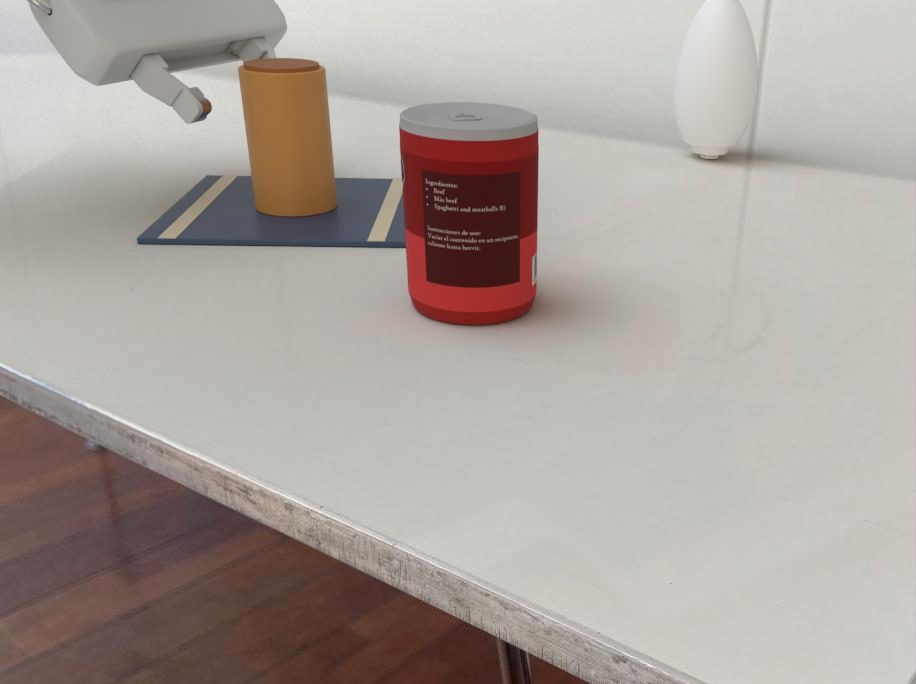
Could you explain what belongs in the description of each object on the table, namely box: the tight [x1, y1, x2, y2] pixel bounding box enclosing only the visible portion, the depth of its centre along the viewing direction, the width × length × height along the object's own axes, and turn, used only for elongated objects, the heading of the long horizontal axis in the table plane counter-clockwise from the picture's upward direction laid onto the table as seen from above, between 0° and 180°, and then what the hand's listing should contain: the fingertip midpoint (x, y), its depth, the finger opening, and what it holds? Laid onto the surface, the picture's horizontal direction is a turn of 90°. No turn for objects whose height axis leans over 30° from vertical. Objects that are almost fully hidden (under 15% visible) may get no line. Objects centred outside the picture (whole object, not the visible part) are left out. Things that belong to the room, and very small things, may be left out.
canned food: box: [398, 101, 540, 326], centre depth 58 cm, size 8×8×11 cm
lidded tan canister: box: [237, 57, 337, 217], centre depth 74 cm, size 6×6×10 cm
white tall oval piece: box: [672, 0, 759, 160], centre depth 95 cm, size 8×8×18 cm
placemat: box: [136, 174, 406, 248], centre depth 76 cm, size 18×18×1 cm
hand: (244, 106), depth 74 cm, fingers open, 8 cm apart
